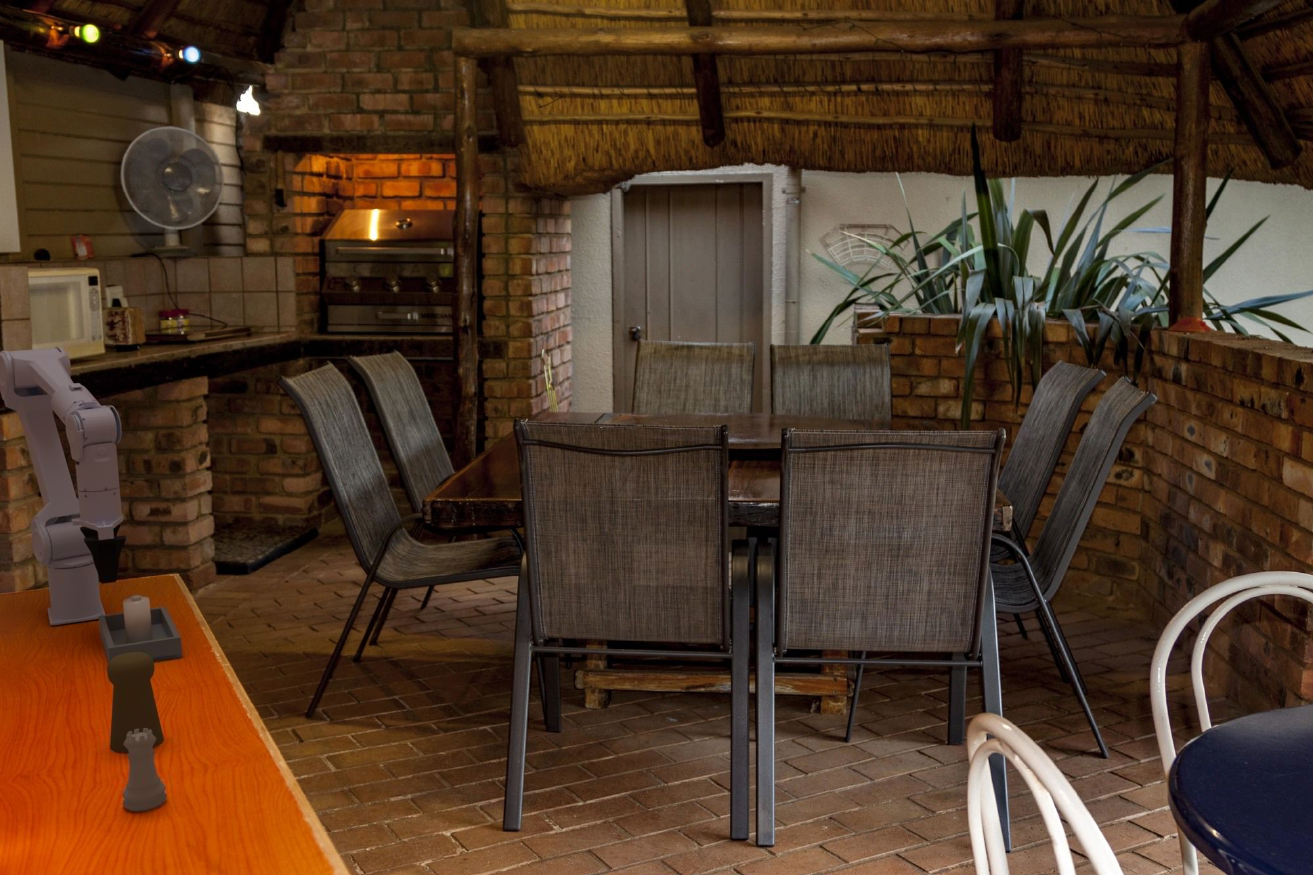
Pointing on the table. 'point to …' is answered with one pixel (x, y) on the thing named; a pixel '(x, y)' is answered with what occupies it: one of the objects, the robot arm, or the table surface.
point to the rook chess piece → (142, 774)
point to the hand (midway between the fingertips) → (106, 576)
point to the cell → (137, 619)
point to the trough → (159, 648)
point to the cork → (132, 699)
